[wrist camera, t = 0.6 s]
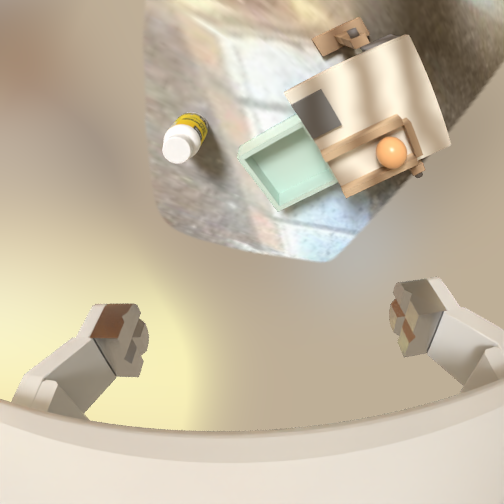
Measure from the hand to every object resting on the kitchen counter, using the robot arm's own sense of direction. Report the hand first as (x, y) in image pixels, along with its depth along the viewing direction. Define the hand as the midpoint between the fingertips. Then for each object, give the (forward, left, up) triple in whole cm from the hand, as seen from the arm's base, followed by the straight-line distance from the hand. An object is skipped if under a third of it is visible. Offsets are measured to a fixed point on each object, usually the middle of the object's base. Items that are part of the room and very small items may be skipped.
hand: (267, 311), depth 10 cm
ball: (-9, +14, -29) cm, 33 cm away
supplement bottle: (+15, +1, -42) cm, 45 cm away
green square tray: (+5, +14, -42) cm, 44 cm away
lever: (-9, +10, -38) cm, 40 cm away
